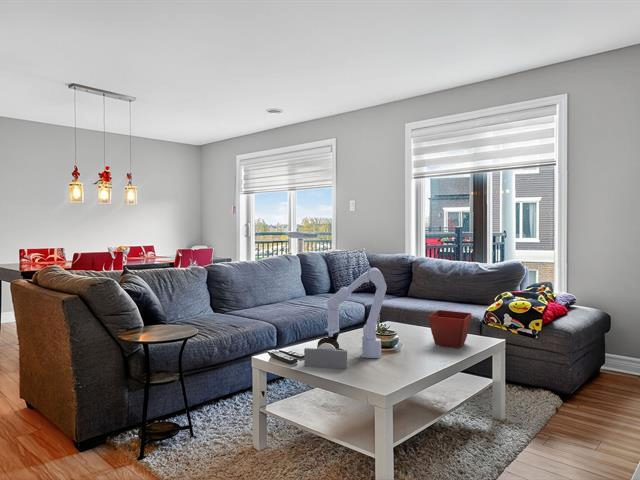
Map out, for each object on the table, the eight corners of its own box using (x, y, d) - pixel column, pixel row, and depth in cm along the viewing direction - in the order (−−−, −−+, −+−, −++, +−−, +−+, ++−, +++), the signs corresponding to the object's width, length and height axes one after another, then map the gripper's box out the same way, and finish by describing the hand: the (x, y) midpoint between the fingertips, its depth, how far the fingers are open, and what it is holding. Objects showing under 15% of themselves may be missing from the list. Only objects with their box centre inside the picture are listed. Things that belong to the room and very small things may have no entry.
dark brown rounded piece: (341, 349, 216) (346, 336, 231) (310, 350, 220) (316, 337, 234) (343, 369, 218) (347, 354, 233) (312, 369, 221) (318, 354, 236)
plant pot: (464, 351, 241) (464, 319, 240) (427, 346, 251) (428, 315, 250) (471, 343, 258) (472, 312, 257) (437, 338, 267) (437, 309, 267)
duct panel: (347, 366, 216) (347, 344, 215) (346, 368, 213) (346, 346, 212) (305, 364, 220) (305, 342, 220) (304, 366, 217) (304, 343, 216)
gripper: (328, 317, 242) (328, 343, 243) (322, 323, 228) (322, 350, 228) (341, 318, 241) (341, 344, 241) (336, 324, 226) (336, 351, 227)
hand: (333, 347), depth 235 cm, fingers closed
